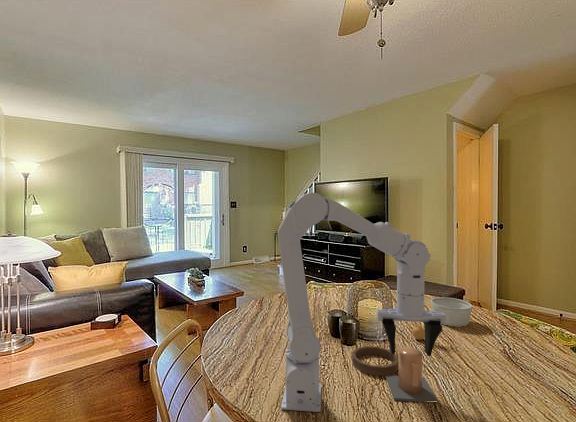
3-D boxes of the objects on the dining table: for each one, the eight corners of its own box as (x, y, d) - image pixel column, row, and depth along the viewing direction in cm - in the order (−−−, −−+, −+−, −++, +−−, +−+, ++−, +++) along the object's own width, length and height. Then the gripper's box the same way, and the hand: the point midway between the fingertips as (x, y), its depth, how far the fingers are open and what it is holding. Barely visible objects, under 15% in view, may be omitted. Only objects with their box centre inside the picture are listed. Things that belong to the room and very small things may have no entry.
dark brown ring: (403, 376, 75) (403, 368, 75) (354, 373, 77) (354, 365, 77) (392, 354, 87) (392, 347, 87) (350, 352, 88) (350, 345, 88)
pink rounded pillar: (396, 380, 73) (396, 346, 73) (418, 381, 73) (418, 347, 72) (403, 397, 66) (403, 360, 66) (427, 399, 66) (428, 361, 66)
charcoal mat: (438, 403, 65) (438, 400, 65) (394, 400, 66) (394, 397, 66) (424, 379, 74) (424, 377, 74) (385, 377, 75) (385, 375, 75)
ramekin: (480, 329, 105) (480, 308, 105) (440, 328, 106) (441, 308, 105) (459, 315, 119) (459, 297, 118) (424, 315, 119) (424, 297, 119)
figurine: (406, 341, 95) (406, 302, 95) (401, 333, 101) (401, 296, 101) (435, 342, 95) (435, 303, 94) (428, 334, 101) (428, 297, 100)
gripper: (437, 289, 73) (437, 346, 73) (374, 287, 75) (374, 343, 75) (449, 297, 66) (449, 361, 66) (379, 295, 68) (379, 357, 68)
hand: (410, 352), depth 70 cm, fingers open, 7 cm apart
